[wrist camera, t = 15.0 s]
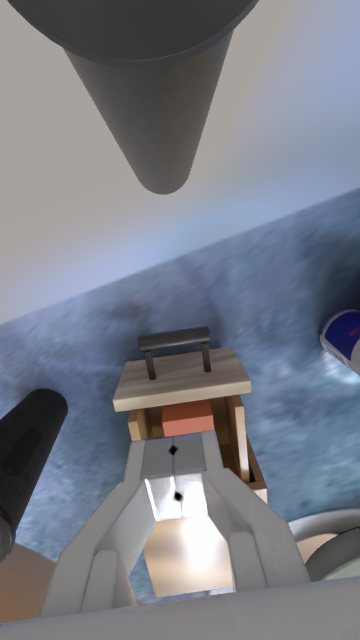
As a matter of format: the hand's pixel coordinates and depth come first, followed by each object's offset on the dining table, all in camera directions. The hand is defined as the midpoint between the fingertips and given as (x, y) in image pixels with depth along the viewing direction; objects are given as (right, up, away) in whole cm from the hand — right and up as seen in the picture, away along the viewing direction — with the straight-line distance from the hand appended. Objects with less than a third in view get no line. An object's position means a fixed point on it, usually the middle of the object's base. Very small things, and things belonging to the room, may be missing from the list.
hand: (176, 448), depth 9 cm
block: (+1, -5, +19) cm, 20 cm away
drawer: (+1, -3, +19) cm, 20 cm away
